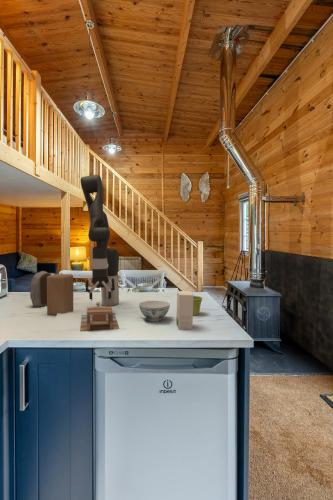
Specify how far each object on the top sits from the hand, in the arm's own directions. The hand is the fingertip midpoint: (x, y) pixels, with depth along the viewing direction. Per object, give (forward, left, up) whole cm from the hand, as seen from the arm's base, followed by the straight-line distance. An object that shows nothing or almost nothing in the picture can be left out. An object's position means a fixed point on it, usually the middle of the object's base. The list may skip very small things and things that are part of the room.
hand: (100, 299), depth 151 cm
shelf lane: (+8, +12, -8) cm, 17 cm away
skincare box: (-18, +41, -9) cm, 46 cm away
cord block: (+3, +3, -7) cm, 8 cm away
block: (+12, -19, -9) cm, 24 cm away
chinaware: (-16, +23, -9) cm, 29 cm away
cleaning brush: (+12, -44, -9) cm, 47 cm away
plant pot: (-38, +29, -9) cm, 49 cm away
